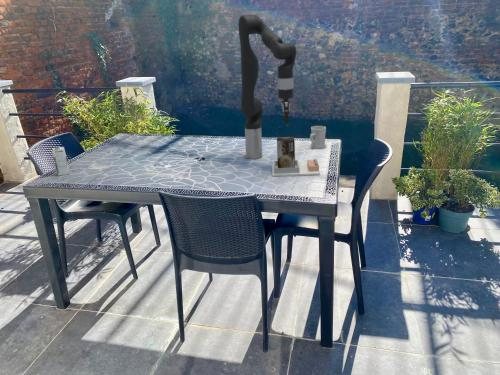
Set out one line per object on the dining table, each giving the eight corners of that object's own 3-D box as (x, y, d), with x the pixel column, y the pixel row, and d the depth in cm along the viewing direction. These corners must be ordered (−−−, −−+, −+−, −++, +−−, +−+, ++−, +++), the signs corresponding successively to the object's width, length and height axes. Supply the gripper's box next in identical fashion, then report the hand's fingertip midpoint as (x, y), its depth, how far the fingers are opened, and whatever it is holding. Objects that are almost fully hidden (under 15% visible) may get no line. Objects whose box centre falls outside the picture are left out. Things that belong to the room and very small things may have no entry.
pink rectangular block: (308, 171, 200) (308, 165, 199) (307, 164, 210) (307, 158, 208) (318, 170, 200) (319, 164, 199) (316, 164, 209) (316, 158, 208)
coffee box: (295, 166, 208) (294, 136, 202) (295, 170, 202) (295, 140, 196) (277, 166, 209) (276, 137, 203) (277, 171, 203) (276, 140, 197)
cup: (325, 149, 235) (325, 130, 231) (309, 149, 237) (309, 130, 232) (325, 144, 245) (326, 125, 240) (310, 144, 246) (311, 125, 242)
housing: (272, 176, 199) (272, 170, 198) (272, 165, 214) (272, 159, 213) (320, 175, 198) (320, 168, 196) (316, 164, 212) (316, 158, 211)
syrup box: (58, 172, 222) (52, 147, 216) (69, 171, 224) (63, 146, 218) (57, 176, 217) (51, 150, 211) (69, 174, 219) (63, 149, 213)
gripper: (277, 85, 197) (278, 118, 203) (277, 90, 184) (278, 124, 190) (292, 85, 196) (293, 117, 202) (294, 89, 183) (294, 124, 189)
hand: (286, 121), depth 196 cm, fingers open, 8 cm apart
